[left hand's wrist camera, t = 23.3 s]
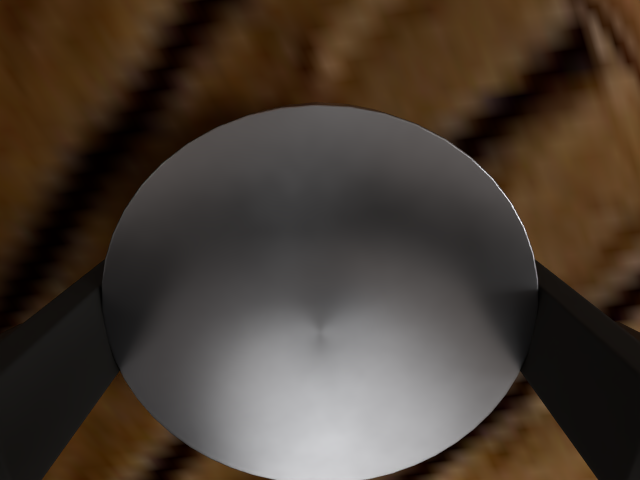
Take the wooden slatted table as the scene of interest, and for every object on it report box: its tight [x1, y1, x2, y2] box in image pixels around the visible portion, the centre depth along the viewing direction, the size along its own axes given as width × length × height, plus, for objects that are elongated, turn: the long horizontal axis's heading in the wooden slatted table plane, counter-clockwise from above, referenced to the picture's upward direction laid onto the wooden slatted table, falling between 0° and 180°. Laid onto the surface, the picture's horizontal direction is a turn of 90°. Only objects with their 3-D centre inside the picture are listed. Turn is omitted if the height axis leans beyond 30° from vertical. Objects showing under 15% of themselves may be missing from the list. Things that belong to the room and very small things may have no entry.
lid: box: [102, 102, 538, 480], centre depth 11 cm, size 11×11×2 cm
